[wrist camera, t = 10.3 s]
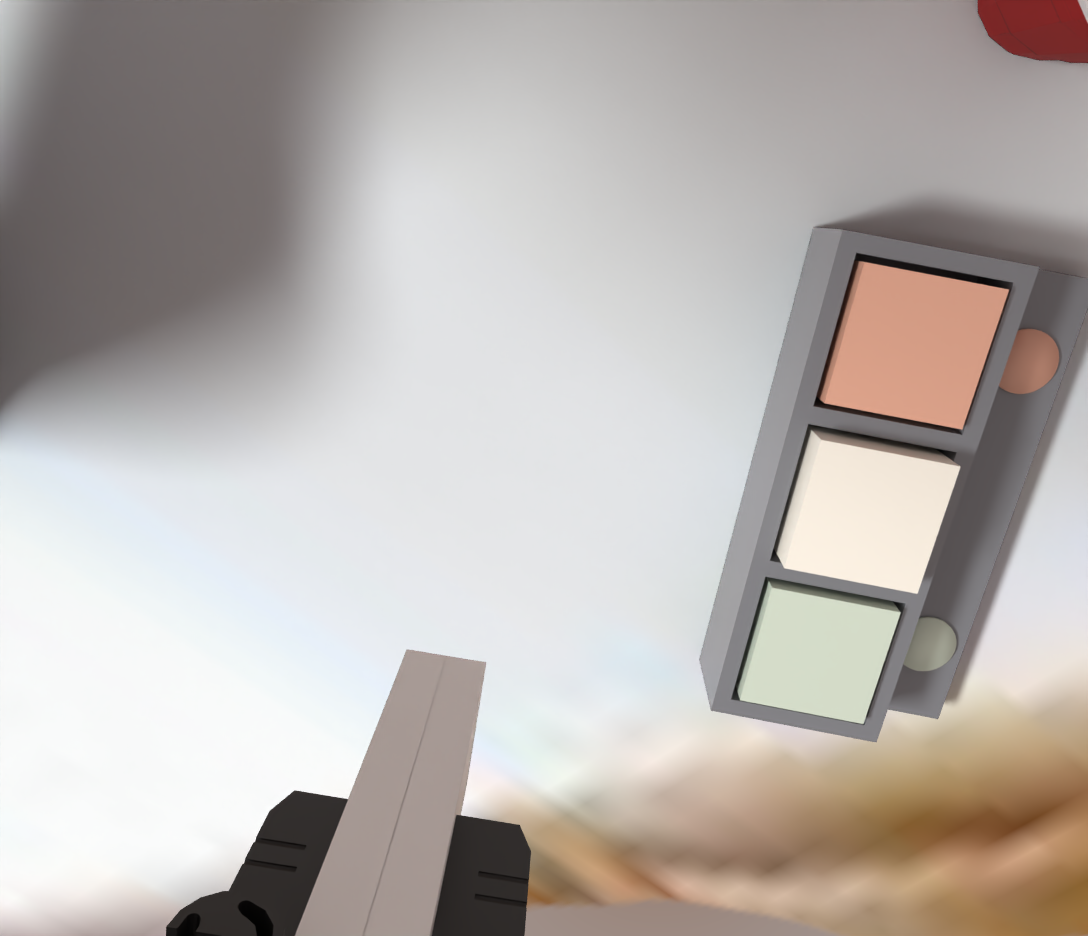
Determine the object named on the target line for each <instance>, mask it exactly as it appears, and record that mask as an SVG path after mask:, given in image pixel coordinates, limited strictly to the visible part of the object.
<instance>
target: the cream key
mask: <svg viewBox="0 0 1088 936" xmlns="http://www.w3.org/2000/svg"><path fill="white" fill-rule="evenodd" d="M960 467H961V466H959V465H958V464H956V463H955V462H954V461H952V460H951V459H949V458H948V457H946V456H945V455H944V454H942V453H941V452H939V451H938V450H936V449H935V448H932V447H926V446H921V445H916V444H911V443H905V442H900V441H895V440H890V439H884V438H879V437H874V436H869V435H864V434H858V433H853V432H848V431H843V430H837V429H832V428H827V427H822V426H816V425H811V424H808V427H807V430H806V434H805V437H804V441H803V445H802V448H801V452H800V455H799V459H798V462H797V466H796V470H795V473H794V477H793V480H792V484H791V487H790V491H789V494H788V498H787V502H786V505H785V509H784V512H783V516H782V519H781V523H780V527H779V530H778V534H777V537H776V541H775V544H774V550H775V551H776V553H777V555H778V557H779V559H780V561H781V563H782V565H783V567H784V568H785V569H791V570H796V571H801V572H806V573H811V574H817V575H822V576H827V577H832V578H838V579H843V580H848V581H853V582H858V583H864V584H869V585H874V586H879V587H884V588H890V589H895V590H900V591H905V592H910V593H916V594H918V591H919V588H920V585H921V582H922V579H923V576H924V573H925V570H926V567H927V564H928V561H929V558H930V555H931V553H932V550H933V547H934V544H935V541H936V538H937V535H938V532H939V529H940V526H941V523H942V520H943V517H944V514H945V511H946V508H947V505H948V503H949V500H950V497H951V494H952V491H953V488H954V485H955V482H956V479H957V476H958V473H959V470H960Z"/></svg>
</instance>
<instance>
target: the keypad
mask: <svg viewBox="0 0 1088 936" xmlns="http://www.w3.org/2000/svg"><path fill="white" fill-rule="evenodd" d="M854 260H856V261H861V262H867V263H872V264H877V265H883V266H888V267H893V268H898V269H904V270H909V271H914V272H919V273H925V274H930V275H935V276H941V277H946V278H951V279H956V280H962V281H967V282H972V283H977V284H983V285H988V286H993V287H998V288H1004V289H1009V292H1008V295H1007V298H1006V301H1005V304H1004V307H1003V310H1002V313H1001V316H1000V319H999V322H998V325H997V328H996V331H995V333H994V336H993V339H992V342H991V345H990V348H989V351H988V354H987V357H986V360H985V363H984V366H983V369H982V372H981V375H980V378H979V381H978V384H977V387H976V390H975V393H974V396H973V399H972V402H971V405H970V408H969V411H968V414H967V417H966V420H965V423H964V426H963V429H957V428H951V427H946V426H941V425H936V424H930V423H925V422H920V421H915V420H910V419H904V418H899V417H894V416H889V415H883V414H878V413H873V412H868V411H862V410H857V409H852V408H847V407H841V406H836V405H831V404H826V403H824V402H822V401H821V400H820V399H819V398H818V397H817V396H816V395H817V391H818V388H819V384H820V380H821V377H822V373H823V370H824V366H825V363H826V359H827V356H828V352H829V348H830V345H831V341H832V338H833V334H834V331H835V327H836V323H837V320H838V316H839V313H840V309H841V306H842V302H843V298H844V295H845V291H846V288H847V284H848V281H849V277H850V274H851V270H852V266H853V263H854ZM1087 310H1088V278H1083V277H1078V276H1073V275H1067V274H1062V273H1057V272H1052V271H1046V270H1041V269H1039V267H1038V266H1033V265H1028V264H1023V263H1017V262H1012V261H1007V260H1001V259H996V258H991V257H986V256H980V255H975V254H970V253H965V252H959V251H954V250H949V249H943V248H938V247H933V246H928V245H922V244H917V243H912V242H907V241H901V240H896V239H891V238H885V237H880V236H875V235H870V234H864V233H859V232H854V231H849V230H843V229H830V228H817V227H813V231H812V235H811V239H810V242H809V246H808V250H807V254H806V258H805V261H804V265H803V269H802V273H801V277H800V280H799V284H798V288H797V292H796V295H795V299H794V303H793V307H792V311H791V314H790V318H789V322H788V326H787V330H786V333H785V337H784V341H783V345H782V348H781V352H780V356H779V360H778V364H777V367H776V371H775V375H774V379H773V383H772V386H771V390H770V394H769V398H768V402H767V405H766V409H765V413H764V417H763V420H762V424H761V428H760V432H759V436H758V439H757V443H756V447H755V451H754V455H753V458H752V462H751V466H750V470H749V473H748V477H747V481H746V485H745V489H744V492H743V496H742V500H741V504H740V508H739V511H738V515H737V519H736V523H735V526H734V530H733V534H732V538H731V542H730V545H729V549H728V553H727V557H726V561H725V564H724V568H723V572H722V576H721V580H720V583H719V587H718V591H717V595H716V598H715V602H714V606H713V610H712V614H711V617H710V621H709V625H708V629H707V633H706V636H705V640H704V644H703V648H702V651H701V655H700V659H699V660H700V664H701V669H702V673H703V678H704V682H705V686H706V691H707V695H708V700H709V704H710V709H711V711H716V712H722V713H727V714H732V715H737V716H742V717H748V718H753V719H758V720H763V721H768V722H773V723H779V724H784V725H789V726H794V727H799V728H804V729H810V730H815V731H820V732H825V733H830V734H836V735H841V736H846V737H851V738H856V739H861V740H867V741H872V742H877V739H878V736H879V733H880V730H881V727H882V724H883V721H884V719H885V716H886V713H887V710H888V709H889V710H894V711H899V712H904V713H909V714H915V715H920V716H925V717H930V718H935V719H938V718H939V715H940V712H941V710H942V707H943V704H944V701H945V699H946V696H947V693H948V691H949V688H950V685H951V682H952V680H953V677H954V674H955V671H956V669H957V666H958V663H959V660H960V658H961V655H962V652H963V649H964V647H965V644H966V641H967V638H968V636H969V633H970V630H971V627H972V625H973V622H974V619H975V617H976V614H977V611H978V608H979V606H980V603H981V600H982V597H983V595H984V592H985V589H986V586H987V584H988V581H989V578H990V575H991V573H992V570H993V567H994V564H995V562H996V559H997V556H998V553H999V551H1000V548H1001V545H1002V543H1003V540H1004V537H1005V534H1006V532H1007V529H1008V526H1009V523H1010V521H1011V518H1012V515H1013V512H1014V510H1015V507H1016V504H1017V501H1018V499H1019V496H1020V493H1021V490H1022V488H1023V485H1024V482H1025V479H1026V477H1027V474H1028V471H1029V468H1030V466H1031V463H1032V460H1033V458H1034V455H1035V452H1036V449H1037V447H1038V444H1039V441H1040V438H1041V436H1042V433H1043V430H1044V427H1045V425H1046V422H1047V419H1048V416H1049V414H1050V411H1051V408H1052V405H1053V403H1054V400H1055V397H1056V394H1057V392H1058V389H1059V386H1060V384H1061V381H1062V378H1063V375H1064V373H1065V370H1066V367H1067V364H1068V362H1069V359H1070V356H1071V353H1072V351H1073V348H1074V345H1075V342H1076V340H1077V337H1078V334H1079V331H1080V329H1081V326H1082V323H1083V320H1084V318H1085V315H1086V312H1087ZM808 424H811V425H816V426H822V427H827V428H832V429H837V430H843V431H848V432H853V433H858V434H864V435H869V436H874V437H879V438H884V439H890V440H895V441H900V442H905V443H911V444H916V445H921V446H926V447H932V448H935V449H936V450H938V451H939V452H941V453H942V454H944V455H945V456H946V457H948V458H949V459H951V460H952V461H954V462H955V463H956V464H958V465H959V466H961V467H960V470H959V473H958V476H957V479H956V482H955V485H954V488H953V491H952V494H951V497H950V500H949V503H948V505H947V508H946V511H945V514H944V517H943V520H942V523H941V526H940V529H939V532H938V535H937V538H936V541H935V544H934V547H933V550H932V553H931V555H930V558H929V561H928V564H927V567H926V570H925V573H924V576H923V579H922V582H921V585H920V588H919V591H918V594H916V593H910V592H905V591H900V590H895V589H890V588H884V587H879V586H874V585H869V584H864V583H858V582H853V581H848V580H843V579H838V578H832V577H827V576H822V575H817V574H811V573H806V572H801V571H796V570H791V569H785V568H784V567H783V565H782V563H781V561H780V559H779V557H778V555H777V553H776V551H775V550H774V544H775V541H776V537H777V534H778V530H779V527H780V523H781V519H782V516H783V512H784V509H785V505H786V502H787V498H788V494H789V491H790V487H791V484H792V480H793V477H794V473H795V470H796V466H797V462H798V459H799V455H800V452H801V448H802V445H803V441H804V437H805V434H806V430H807V427H808ZM765 577H770V578H775V579H781V580H786V581H791V582H796V583H801V584H807V585H812V586H817V587H822V588H827V589H833V590H838V591H843V592H848V593H853V594H859V595H864V596H869V597H874V598H879V599H885V600H890V601H893V603H894V604H895V605H896V607H897V608H898V609H899V611H900V612H901V613H900V616H899V619H898V622H897V625H896V628H895V631H894V634H893V637H892V640H891V643H890V646H889V649H888V652H887V655H886V658H885V661H884V664H883V667H882V670H881V673H880V676H879V679H878V682H877V685H876V688H875V691H874V694H873V697H872V700H871V703H870V706H869V709H868V712H867V715H866V718H865V721H864V723H863V724H860V723H855V722H850V721H845V720H839V719H834V718H829V717H824V716H819V715H814V714H808V713H803V712H798V711H793V710H788V709H783V708H777V707H772V706H767V705H762V704H757V703H751V702H746V701H741V700H740V698H739V695H738V692H737V688H736V685H735V683H736V680H737V676H738V673H739V669H740V666H741V662H742V658H743V655H744V651H745V648H746V644H747V641H748V637H749V633H750V630H751V626H752V623H753V619H754V616H755V612H756V609H757V605H758V601H759V598H760V594H761V591H762V587H763V584H764V580H765Z"/></svg>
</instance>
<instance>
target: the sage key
mask: <svg viewBox="0 0 1088 936" xmlns="http://www.w3.org/2000/svg"><path fill="white" fill-rule="evenodd" d="M900 613H901V612H900V611H899V609H898V608H897V607H896V605H895V604H894V603H893V601H890V600H885V599H879V598H874V597H869V596H864V595H859V594H853V593H848V592H843V591H838V590H833V589H827V588H822V587H817V586H812V585H807V584H801V583H796V582H791V581H786V580H781V579H775V578H770V577H765V580H764V584H763V587H762V591H761V594H760V598H759V601H758V605H757V609H756V612H755V616H754V619H753V623H752V626H751V630H750V633H749V637H748V641H747V644H746V648H745V651H744V655H743V658H742V662H741V666H740V669H739V673H738V676H737V680H736V683H735V685H736V688H737V692H738V695H739V698H740V700H741V701H746V702H751V703H757V704H762V705H767V706H772V707H777V708H783V709H788V710H793V711H798V712H803V713H808V714H814V715H819V716H824V717H829V718H834V719H839V720H845V721H850V722H855V723H860V724H863V723H864V721H865V718H866V715H867V712H868V709H869V706H870V703H871V700H872V697H873V694H874V691H875V688H876V685H877V682H878V679H879V676H880V673H881V670H882V667H883V664H884V661H885V658H886V655H887V652H888V649H889V646H890V643H891V640H892V637H893V634H894V631H895V628H896V625H897V622H898V619H899V616H900Z"/></svg>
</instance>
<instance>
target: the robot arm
mask: <svg viewBox="0 0 1088 936" xmlns="http://www.w3.org/2000/svg"><path fill="white" fill-rule="evenodd" d="M485 667H486V662H480V661H474V660H468V659H462V658H456V657H450V656H444V655H438V654H432V653H426V652H420V651H414V650H406V653H405V655H404V658H403V660H402V663H401V666H400V668H399V671H398V673H397V676H396V678H395V681H394V684H393V686H392V689H391V691H390V694H389V696H388V699H387V701H386V704H385V707H384V709H383V712H382V714H381V717H380V719H379V722H378V724H377V727H376V730H375V732H374V735H373V737H372V740H371V742H370V745H369V747H368V750H367V753H366V755H365V758H364V760H363V763H362V765H361V768H360V770H359V773H358V776H357V778H356V781H355V783H354V786H353V788H352V791H351V793H350V796H349V799H343V798H337V797H331V796H325V795H319V794H313V793H307V792H301V791H293V792H292V793H291V794H290V795H289V796H287V797H286V798H285V799H284V800H282V801H281V802H280V803H279V804H278V805H276V806H275V807H274V808H273V809H272V810H270V811H269V813H268V815H267V817H266V819H265V821H264V823H263V825H262V827H261V829H260V831H259V833H258V835H257V837H256V841H255V842H254V843H253V845H252V847H251V849H250V851H249V852H248V854H247V856H246V858H245V863H244V864H242V866H241V868H240V870H239V872H238V874H237V876H236V878H235V880H234V882H233V884H232V886H231V888H230V890H229V891H222V892H219V893H215V894H212V895H208V896H205V897H201V898H199V899H198V900H196V901H194V902H193V903H191V904H189V905H188V906H186V907H185V908H183V909H181V910H180V911H179V912H178V914H177V915H176V916H175V917H174V918H173V920H172V921H171V922H170V923H169V924H168V925H167V927H166V936H524V933H525V920H526V905H527V895H528V880H529V869H530V856H531V850H530V848H529V846H528V843H527V841H526V839H525V836H524V834H523V832H522V830H521V827H520V825H516V824H510V823H504V822H498V821H492V820H486V819H479V818H473V817H467V816H461V811H462V806H463V801H464V796H465V790H466V785H467V779H468V773H469V767H470V761H471V754H472V748H473V742H474V736H475V729H476V723H477V717H478V711H479V704H480V698H481V692H482V685H483V679H484V673H485Z"/></svg>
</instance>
